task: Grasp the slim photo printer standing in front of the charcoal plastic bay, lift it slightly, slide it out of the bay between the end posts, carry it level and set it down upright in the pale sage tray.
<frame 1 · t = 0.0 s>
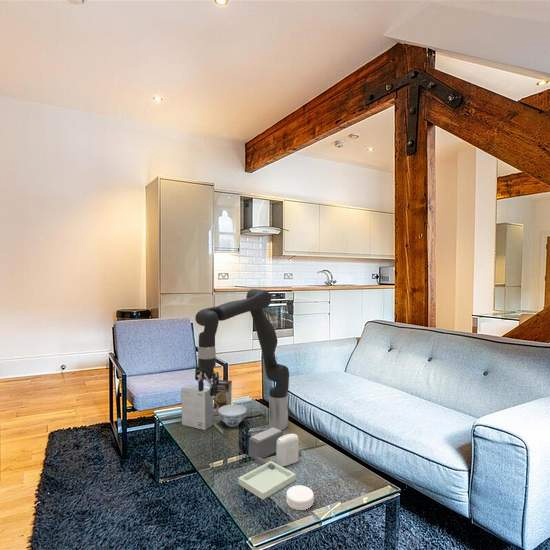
hand: (206, 393, 165), 29 cm above the table, fingers open, 8 cm apart
photo printer: (287, 463, 164), on the table
coffee box: (222, 409, 223), on the table
chinaware: (232, 424, 203), on the table
tray: (267, 482, 150), on the table
hard drive box: (197, 425, 201), on the table
dock: (287, 463, 164), on the table
white round puck: (300, 502, 138), on the table
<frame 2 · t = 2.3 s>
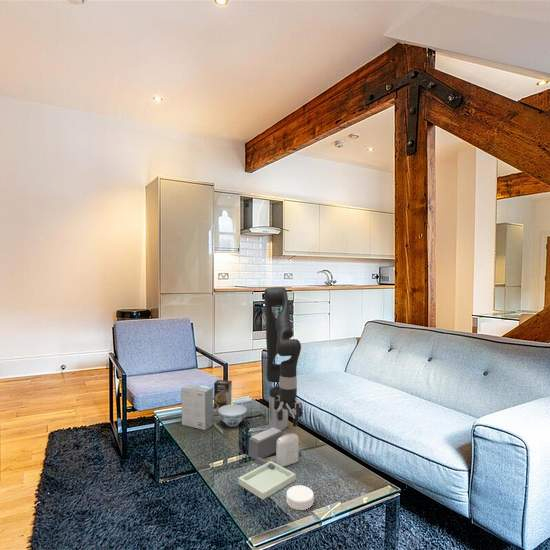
hand: (287, 423, 164), 17 cm above the table, fingers open, 8 cm apart
nothing on the table moved.
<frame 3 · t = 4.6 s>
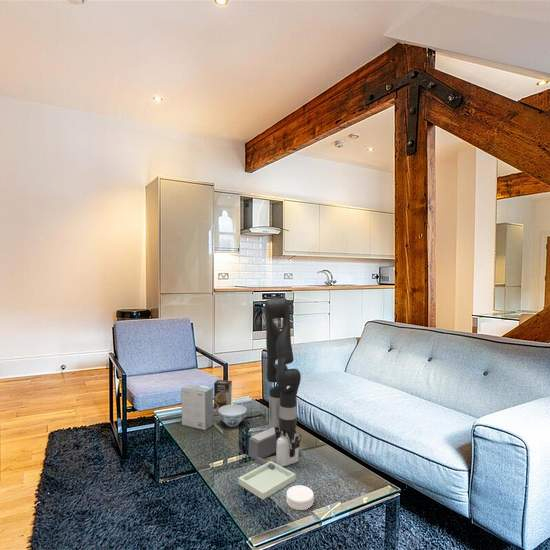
hand: (287, 454, 164), 4 cm above the table, fingers closed on photo printer, 4 cm apart
photo printer: (287, 463, 164), on the table, touching gripper
everything else where it was.
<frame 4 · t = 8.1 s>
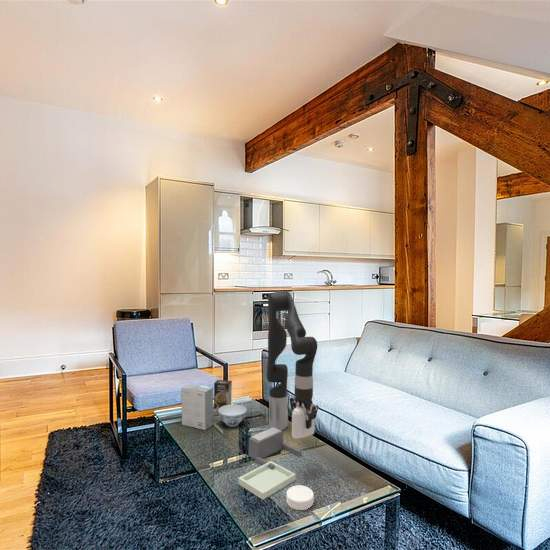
hand: (303, 425, 157), 19 cm above the table, fingers closed on photo printer, 4 cm apart
photo printer: (303, 435, 157), point 15 cm above the table, touching gripper
everything else where it was.
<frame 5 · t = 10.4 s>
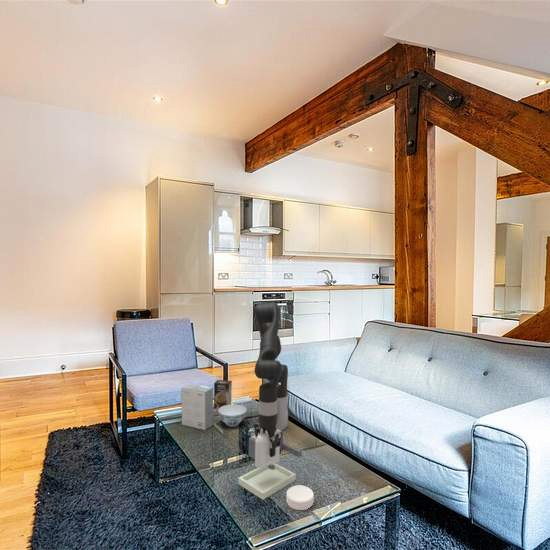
hand: (267, 453, 150), 11 cm above the table, fingers closed on photo printer, 4 cm apart
photo printer: (267, 463, 150), point 7 cm above the table, touching gripper
everything else where it was.
when the fingers open (5 cm above the table, at t = 12.1 s): photo printer stays where it is, resting on tray.
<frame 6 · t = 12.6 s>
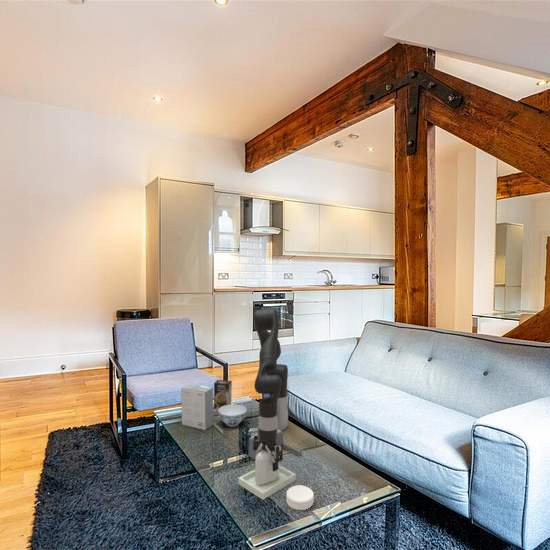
hand: (267, 466, 150), 6 cm above the table, fingers open, 8 cm apart
photo printer: (267, 480, 150), resting on tray
everything else where it was.
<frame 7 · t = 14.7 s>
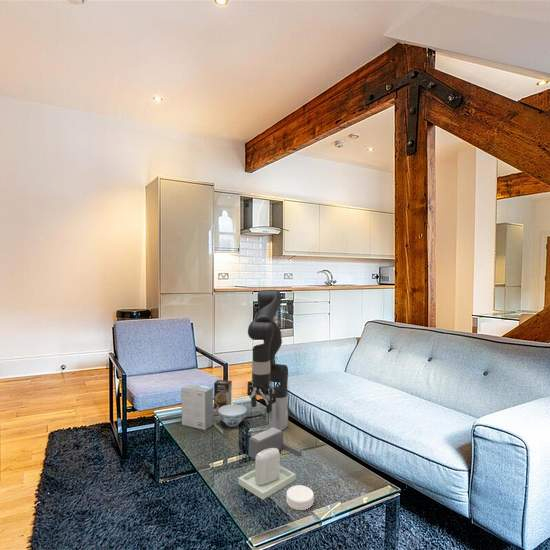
hand: (261, 409, 156), 26 cm above the table, fingers open, 8 cm apart
nothing on the table moved.
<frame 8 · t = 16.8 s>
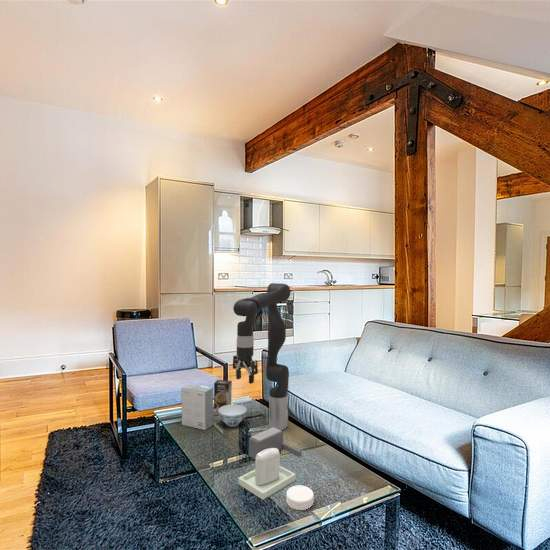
hand: (244, 381, 171), 33 cm above the table, fingers open, 8 cm apart
nothing on the table moved.
at the end: photo printer inside the target area on the tray (0.1 cm from its centre), point 0.4 cm above the tray's base; photo printer tilted 0°; the gripper is holding nothing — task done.
